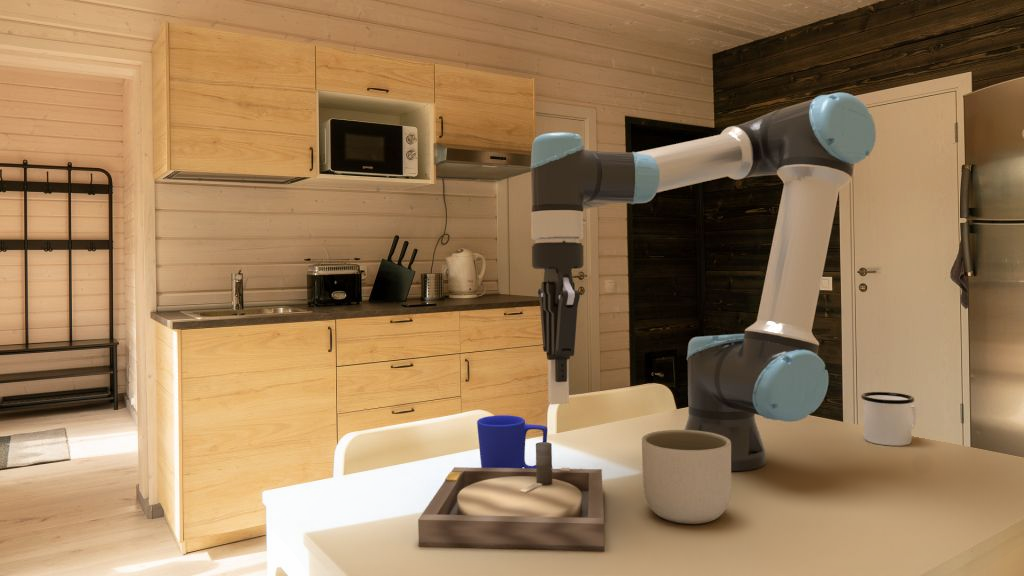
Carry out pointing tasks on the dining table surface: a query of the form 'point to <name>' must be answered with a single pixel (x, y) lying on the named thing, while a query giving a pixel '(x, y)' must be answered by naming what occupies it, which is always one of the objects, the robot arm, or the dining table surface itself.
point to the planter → (686, 474)
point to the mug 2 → (888, 418)
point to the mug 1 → (504, 441)
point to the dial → (523, 493)
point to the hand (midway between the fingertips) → (558, 402)
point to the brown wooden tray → (514, 531)
